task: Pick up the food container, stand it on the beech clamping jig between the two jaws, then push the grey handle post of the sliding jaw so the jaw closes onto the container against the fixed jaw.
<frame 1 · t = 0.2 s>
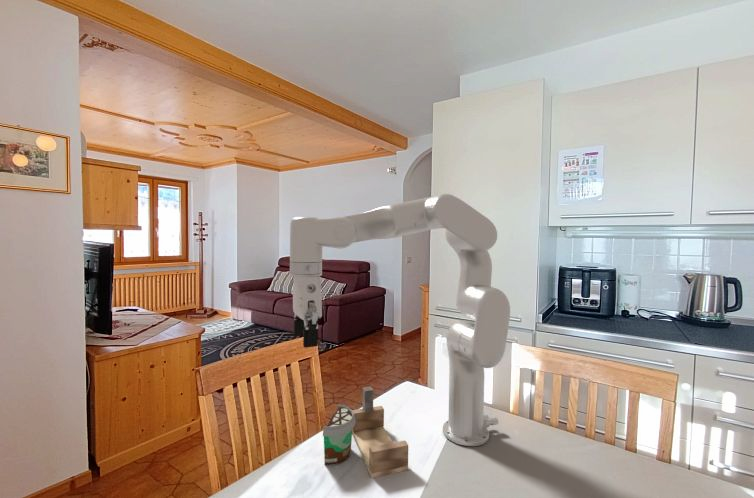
hand: (305, 340, 83), 30 cm above the table, fingers open, 9 cm apart
food container: (342, 455, 88), on the table
jig: (376, 447, 91), on the table
sliding jaw: (367, 407, 98), point 7 cm above the table, slide at 0.0 cm
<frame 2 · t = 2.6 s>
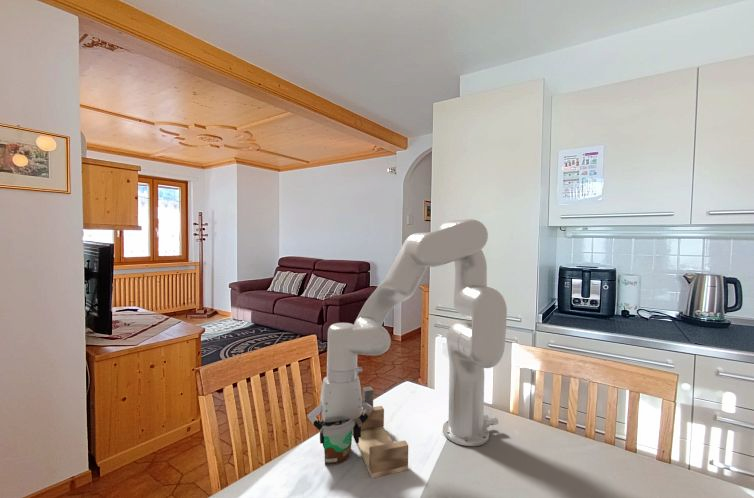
hand: (340, 442, 88), 3 cm above the table, fingers closed on food container, 7 cm apart
food container: (342, 455, 88), on the table, touching gripper
everything else where it was.
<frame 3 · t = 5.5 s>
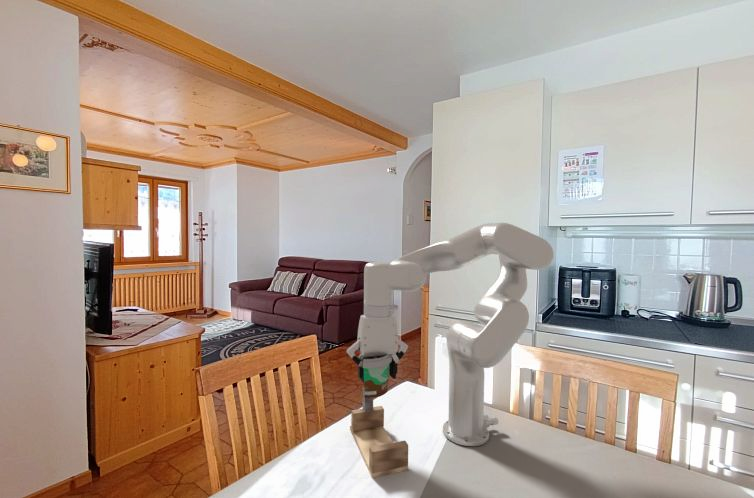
hand: (377, 378, 90), 19 cm above the table, fingers closed on food container, 7 cm apart
food container: (380, 391, 90), point 15 cm above the table, touching gripper
everything else where it was.
when the fingers open (5 cm above the table, at t = 8.4 s): food container moves 1 cm, resting on jig.
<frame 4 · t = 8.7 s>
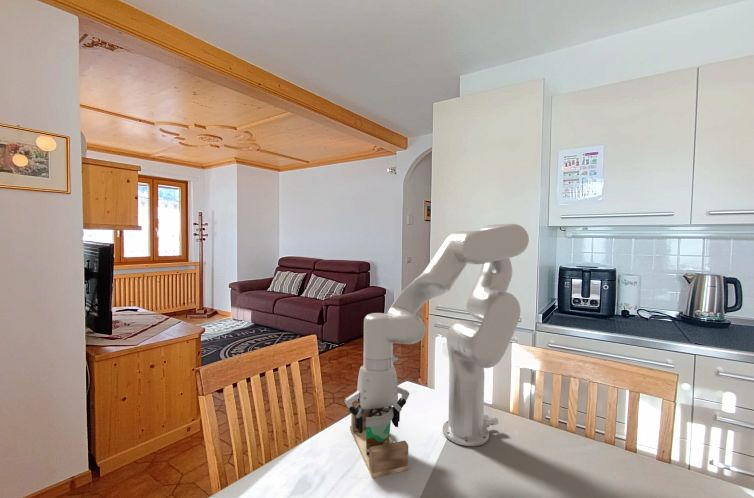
hand: (377, 427, 90), 6 cm above the table, fingers open, 9 cm apart
food container: (381, 445, 90), point 1 cm above the table, touching gripper, jig
everything else where it was.
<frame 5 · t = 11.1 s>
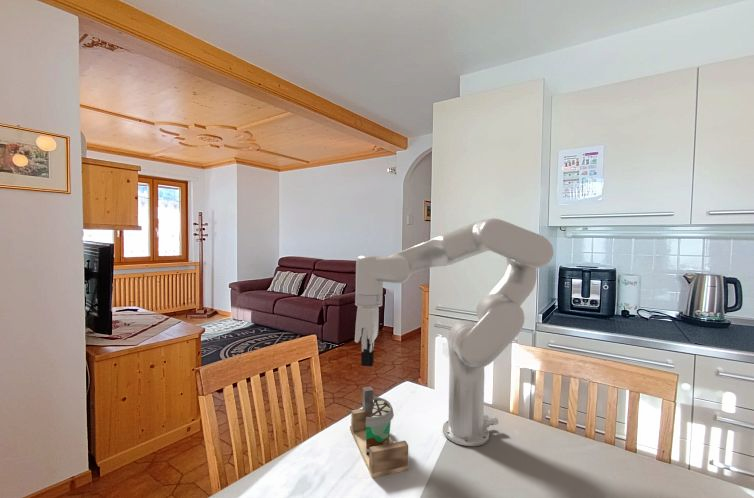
hand: (367, 365, 97), 19 cm above the table, fingers closed
food container: (381, 445, 90), point 1 cm above the table, touching jig
everything else where it was.
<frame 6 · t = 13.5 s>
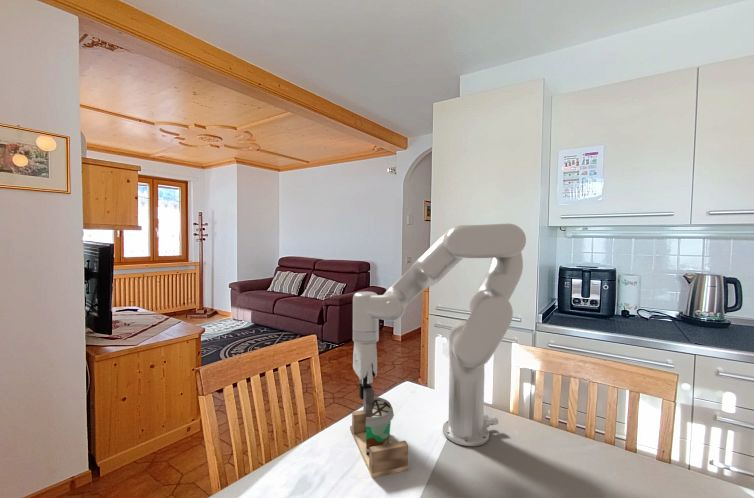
hand: (365, 397, 101), 9 cm above the table, fingers closed
food container: (381, 445, 90), point 1 cm above the table
sliding jaw: (368, 409, 97), point 7 cm above the table, slide at 0.9 cm, touching gripper
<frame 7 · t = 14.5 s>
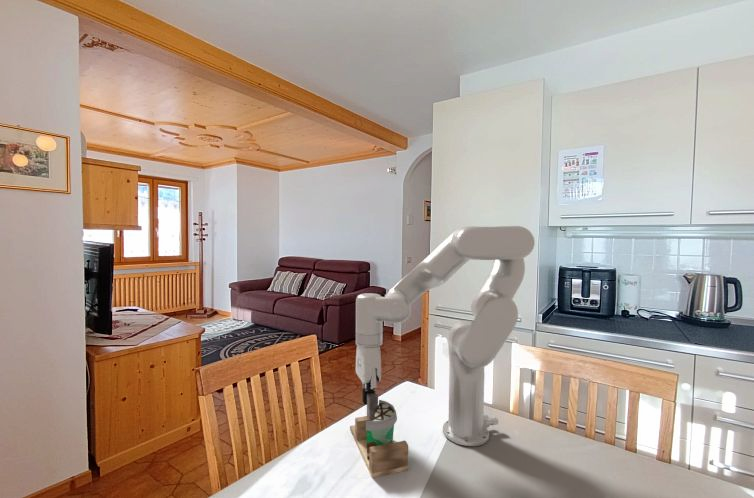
hand: (368, 402, 98), 9 cm above the table, fingers closed
food container: (384, 450, 88), point 1 cm above the table, touching jig, sliding jaw
sliding jaw: (372, 415, 94), point 7 cm above the table, slide at 4.3 cm, touching food container, gripper
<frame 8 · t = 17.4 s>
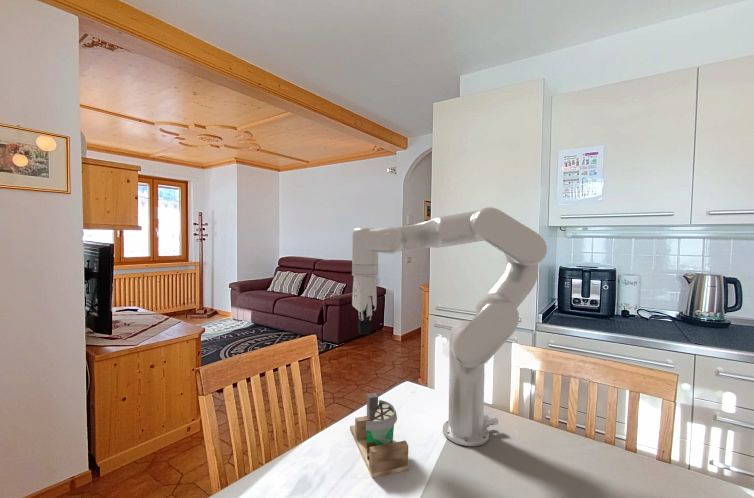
hand: (364, 333, 101), 27 cm above the table, fingers closed
food container: (384, 450, 88), point 1 cm above the table, touching jig
sliding jaw: (372, 415, 94), point 7 cm above the table, slide at 4.3 cm
at the end: food container inside the target area (1.4 cm from its centre), point 0.8 cm above the table; food container tilted 0°; sliding jaw slide at 4.3 cm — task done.
